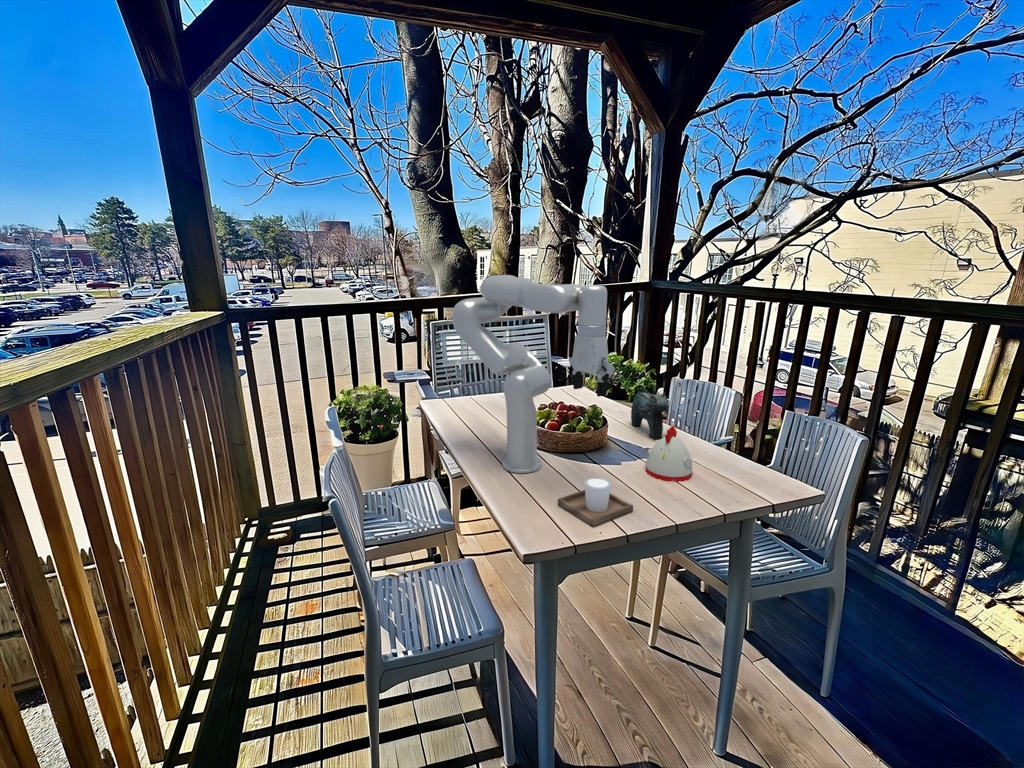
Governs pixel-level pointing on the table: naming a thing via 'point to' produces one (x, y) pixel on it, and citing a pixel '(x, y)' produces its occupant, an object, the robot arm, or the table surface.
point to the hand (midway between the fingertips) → (589, 391)
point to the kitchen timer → (669, 459)
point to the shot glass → (597, 494)
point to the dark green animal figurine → (649, 412)
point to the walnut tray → (578, 508)
